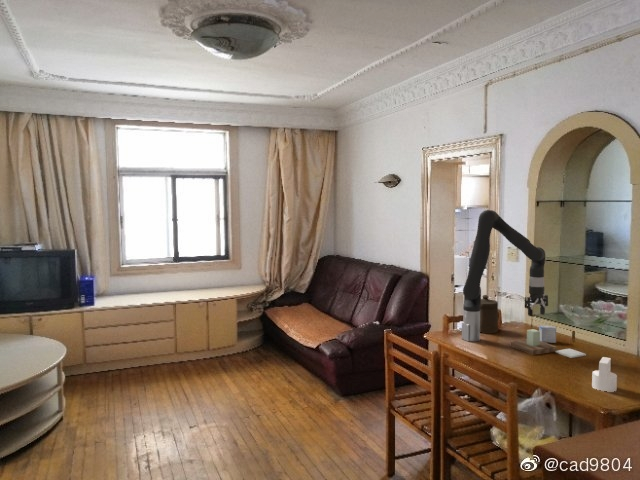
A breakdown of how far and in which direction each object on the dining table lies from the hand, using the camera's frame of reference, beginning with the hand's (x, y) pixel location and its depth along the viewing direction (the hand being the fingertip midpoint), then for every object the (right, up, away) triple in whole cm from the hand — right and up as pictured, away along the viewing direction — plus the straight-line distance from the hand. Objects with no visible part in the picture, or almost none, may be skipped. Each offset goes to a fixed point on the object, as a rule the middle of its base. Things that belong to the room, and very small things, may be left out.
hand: (536, 315), depth 255 cm
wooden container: (-14, -16, +40) cm, 45 cm away
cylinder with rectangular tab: (+5, -23, -52) cm, 57 cm away
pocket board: (-1, -18, +2) cm, 18 cm away
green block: (-1, -18, +2) cm, 18 cm away
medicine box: (+13, -17, +14) cm, 26 cm away
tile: (+14, -19, -8) cm, 25 cm away
